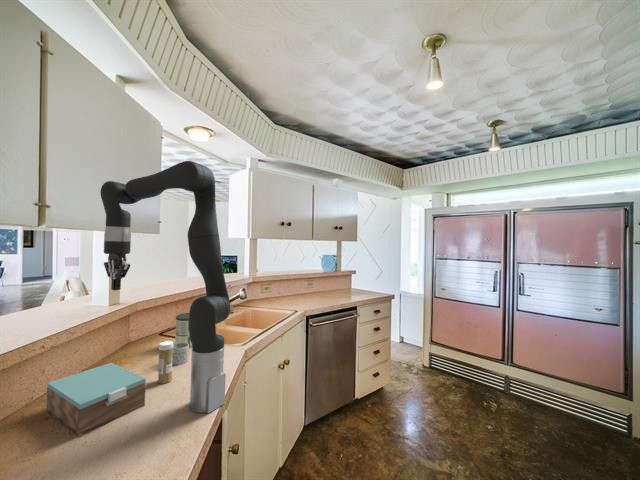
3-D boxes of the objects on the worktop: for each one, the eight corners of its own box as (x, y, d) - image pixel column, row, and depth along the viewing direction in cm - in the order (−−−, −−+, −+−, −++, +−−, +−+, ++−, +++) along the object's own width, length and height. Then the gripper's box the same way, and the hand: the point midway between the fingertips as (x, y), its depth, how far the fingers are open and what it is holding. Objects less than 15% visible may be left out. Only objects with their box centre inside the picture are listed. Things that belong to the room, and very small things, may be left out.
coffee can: (180, 341, 138) (181, 312, 138) (201, 341, 139) (202, 312, 139) (170, 348, 128) (171, 318, 128) (193, 349, 128) (194, 318, 128)
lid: (147, 385, 84) (148, 379, 84) (82, 413, 69) (82, 405, 69) (110, 368, 94) (111, 362, 94) (47, 389, 80) (47, 382, 80)
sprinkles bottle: (172, 382, 98) (174, 343, 98) (157, 385, 96) (159, 346, 96) (171, 376, 102) (172, 339, 102) (157, 379, 100) (158, 341, 100)
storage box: (146, 406, 84) (147, 383, 84) (80, 438, 70) (81, 410, 70) (110, 387, 94) (111, 366, 94) (46, 411, 80) (47, 387, 80)
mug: (179, 357, 119) (180, 341, 119) (191, 360, 117) (192, 344, 117) (159, 366, 110) (159, 349, 110) (171, 369, 108) (172, 352, 108)
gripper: (139, 240, 98) (137, 290, 97) (119, 240, 104) (117, 286, 104) (115, 240, 91) (113, 293, 91) (95, 239, 97) (93, 289, 97)
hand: (115, 289), depth 97 cm, fingers closed
